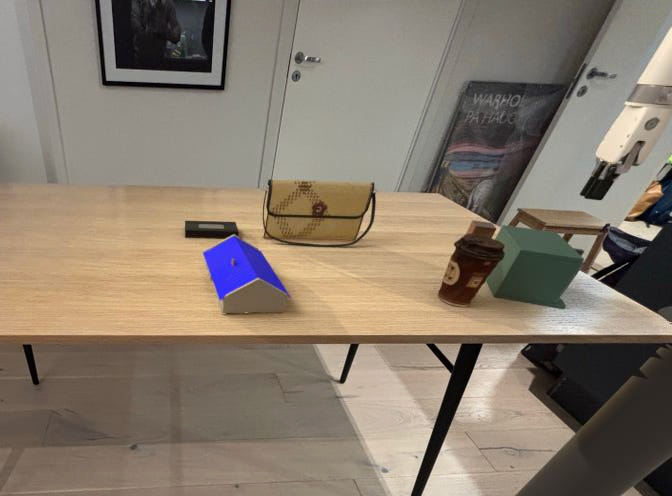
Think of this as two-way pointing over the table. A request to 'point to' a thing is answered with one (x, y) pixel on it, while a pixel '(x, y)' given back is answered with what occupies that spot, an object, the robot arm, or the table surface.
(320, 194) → the clutch purse
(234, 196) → the table surface
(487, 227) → the walnut block
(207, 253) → the roof
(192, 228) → the vhs tape
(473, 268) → the coffee cup
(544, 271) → the cabinet
